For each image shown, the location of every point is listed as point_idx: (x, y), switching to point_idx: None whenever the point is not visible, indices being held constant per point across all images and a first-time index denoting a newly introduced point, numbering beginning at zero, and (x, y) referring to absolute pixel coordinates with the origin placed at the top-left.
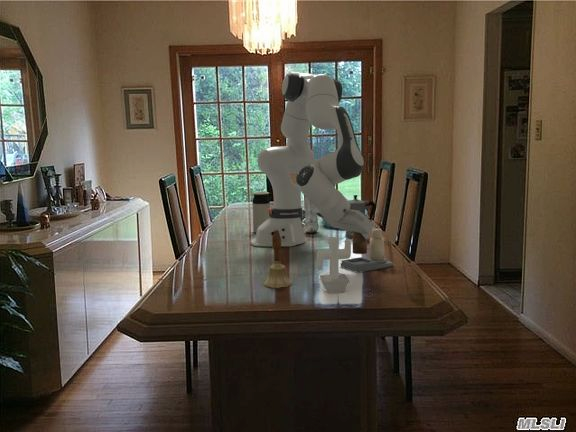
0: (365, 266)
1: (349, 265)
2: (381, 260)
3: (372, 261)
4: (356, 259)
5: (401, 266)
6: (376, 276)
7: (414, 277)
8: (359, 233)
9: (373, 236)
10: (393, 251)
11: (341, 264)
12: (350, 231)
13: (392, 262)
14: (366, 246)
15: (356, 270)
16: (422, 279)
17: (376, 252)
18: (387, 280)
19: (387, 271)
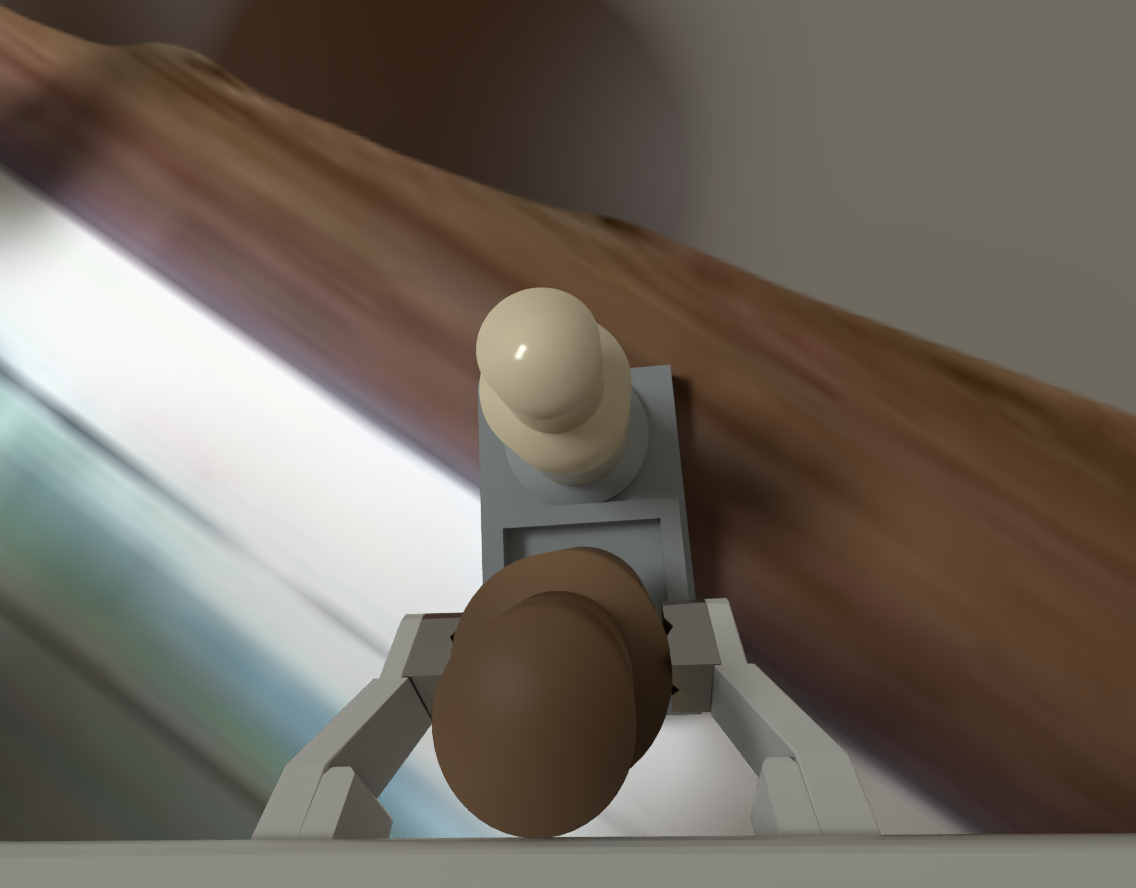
0: None
1: None
2: (628, 429)
3: (643, 519)
4: None
5: (701, 331)
6: (866, 641)
7: (1003, 429)
8: (652, 733)
9: (555, 426)
10: (342, 154)
11: None
12: (413, 726)
13: (667, 367)
14: (641, 582)
15: None
16: (1074, 415)
17: (615, 454)
18: (1004, 641)
19: (775, 489)
